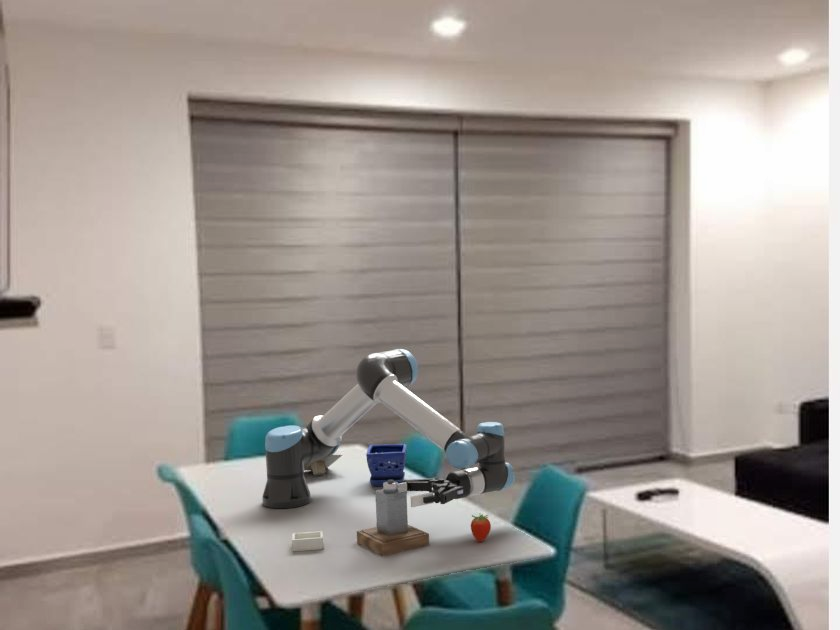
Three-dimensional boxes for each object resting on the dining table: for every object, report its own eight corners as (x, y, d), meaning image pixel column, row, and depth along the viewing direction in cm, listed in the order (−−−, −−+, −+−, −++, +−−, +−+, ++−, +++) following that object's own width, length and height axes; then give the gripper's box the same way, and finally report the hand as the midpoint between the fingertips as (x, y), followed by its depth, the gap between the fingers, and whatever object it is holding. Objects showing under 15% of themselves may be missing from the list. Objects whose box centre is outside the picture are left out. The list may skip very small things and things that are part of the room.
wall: (288, 489, 312) (303, 466, 302) (284, 467, 317) (299, 445, 307) (331, 489, 320) (347, 467, 310) (327, 468, 325) (342, 446, 315)
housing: (377, 531, 235) (374, 480, 234) (396, 526, 238) (394, 476, 237) (388, 536, 230) (386, 484, 229) (408, 532, 233) (406, 480, 232)
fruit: (478, 537, 237) (477, 508, 236) (494, 540, 233) (493, 511, 233) (466, 542, 233) (465, 513, 232) (483, 546, 229) (482, 516, 229)
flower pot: (406, 487, 293) (405, 451, 292) (367, 488, 293) (365, 452, 292) (408, 477, 306) (406, 443, 305) (370, 478, 306) (368, 444, 306)
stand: (357, 542, 236) (356, 530, 236) (401, 532, 244) (401, 520, 244) (383, 556, 225) (382, 543, 224) (429, 544, 232) (428, 532, 232)
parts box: (292, 551, 231) (292, 540, 231) (293, 544, 237) (292, 533, 237) (323, 549, 232) (322, 537, 232) (322, 542, 238) (322, 531, 238)
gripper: (491, 506, 235) (423, 521, 224) (440, 487, 256) (376, 500, 245) (490, 478, 234) (422, 492, 223) (439, 462, 256) (375, 473, 245)
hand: (398, 496), depth 234 cm, fingers open, 13 cm apart
